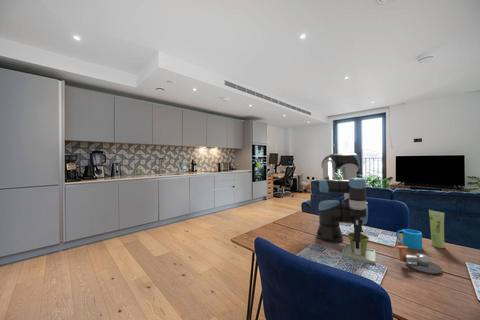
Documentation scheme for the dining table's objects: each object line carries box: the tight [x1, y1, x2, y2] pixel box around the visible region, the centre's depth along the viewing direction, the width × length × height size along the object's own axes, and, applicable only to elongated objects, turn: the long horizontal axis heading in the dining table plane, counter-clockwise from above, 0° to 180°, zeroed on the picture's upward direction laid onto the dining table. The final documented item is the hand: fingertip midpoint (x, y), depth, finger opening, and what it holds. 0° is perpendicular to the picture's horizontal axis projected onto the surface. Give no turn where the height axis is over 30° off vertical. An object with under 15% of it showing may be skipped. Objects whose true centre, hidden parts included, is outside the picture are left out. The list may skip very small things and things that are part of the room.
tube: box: [428, 209, 445, 249], centre depth 107 cm, size 6×5×20 cm
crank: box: [396, 245, 430, 266], centre depth 87 cm, size 12×4×7 cm, turn 82°
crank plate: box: [404, 260, 443, 276], centre depth 87 cm, size 12×12×1 cm
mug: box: [395, 228, 423, 250], centre depth 109 cm, size 12×8×8 cm
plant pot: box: [347, 232, 370, 255], centre depth 99 cm, size 9×9×9 cm
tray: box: [341, 243, 376, 265], centre depth 99 cm, size 14×14×1 cm
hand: (358, 249), depth 99 cm, fingers open, 13 cm apart
